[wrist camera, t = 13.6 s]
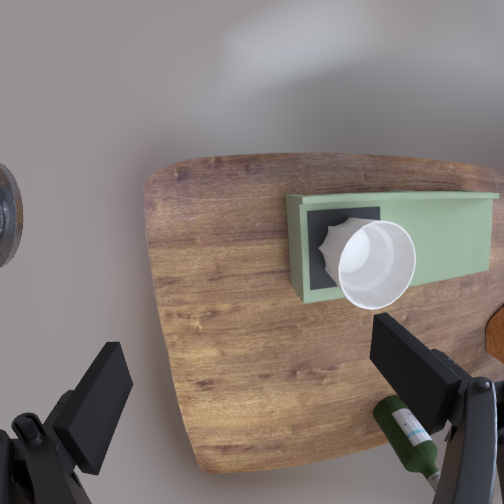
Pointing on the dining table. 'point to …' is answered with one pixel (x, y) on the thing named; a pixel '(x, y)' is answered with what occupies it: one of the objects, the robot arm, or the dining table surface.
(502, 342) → the bread
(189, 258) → the dining table surface
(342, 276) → the cup
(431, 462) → the wine bottle
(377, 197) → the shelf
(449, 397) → the robot arm
